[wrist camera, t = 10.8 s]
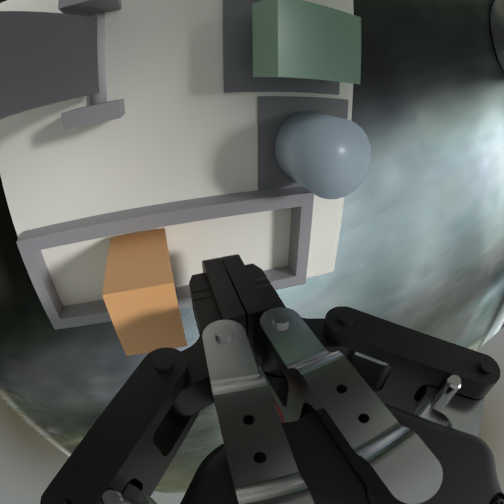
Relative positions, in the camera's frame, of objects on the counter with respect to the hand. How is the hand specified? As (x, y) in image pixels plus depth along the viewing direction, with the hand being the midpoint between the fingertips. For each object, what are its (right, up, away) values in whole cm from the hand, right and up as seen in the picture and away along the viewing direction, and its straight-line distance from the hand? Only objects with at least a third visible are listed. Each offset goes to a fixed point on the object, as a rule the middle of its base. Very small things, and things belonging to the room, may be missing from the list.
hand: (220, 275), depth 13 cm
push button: (+4, +6, 0) cm, 7 cm away
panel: (-2, +7, +1) cm, 7 cm away
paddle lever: (-4, +8, -4) cm, 10 cm away
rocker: (+3, +9, -2) cm, 10 cm away
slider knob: (-4, +1, +1) cm, 4 cm away
